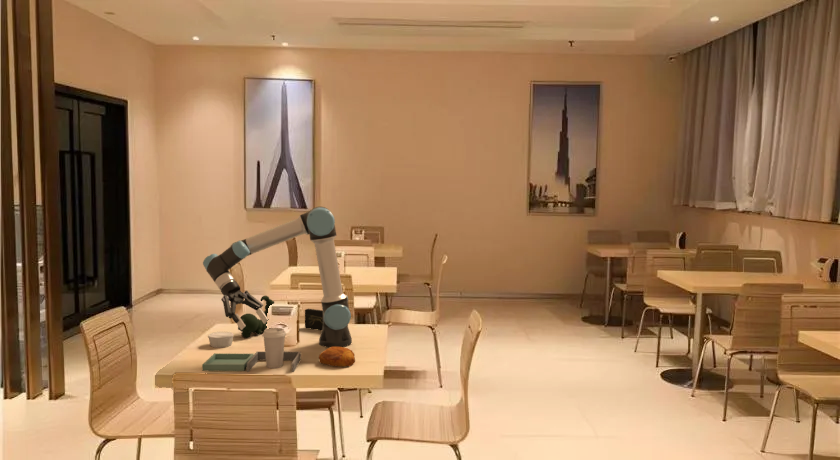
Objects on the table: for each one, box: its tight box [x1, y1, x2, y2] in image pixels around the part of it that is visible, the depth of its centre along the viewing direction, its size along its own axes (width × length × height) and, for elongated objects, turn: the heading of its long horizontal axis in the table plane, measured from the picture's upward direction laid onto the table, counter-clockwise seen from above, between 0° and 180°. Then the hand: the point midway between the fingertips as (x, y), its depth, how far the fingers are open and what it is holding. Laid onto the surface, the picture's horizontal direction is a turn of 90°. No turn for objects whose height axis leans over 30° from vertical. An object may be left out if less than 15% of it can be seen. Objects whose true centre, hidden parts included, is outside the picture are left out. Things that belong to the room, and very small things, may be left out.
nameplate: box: [304, 308, 323, 331], centre depth 343 cm, size 21×2×10 cm, turn 61°
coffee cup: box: [262, 327, 287, 369], centre depth 279 cm, size 10×10×15 cm
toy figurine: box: [237, 295, 275, 339], centre depth 332 cm, size 10×19×26 cm
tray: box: [201, 352, 255, 372], centre depth 280 cm, size 17×17×3 cm
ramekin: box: [207, 331, 234, 349], centre depth 312 cm, size 11×11×5 cm
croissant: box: [318, 346, 356, 368], centre depth 285 cm, size 14×16×8 cm
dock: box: [246, 351, 302, 373], centre depth 280 cm, size 19×18×4 cm
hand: (255, 324), depth 283 cm, fingers open, 13 cm apart
